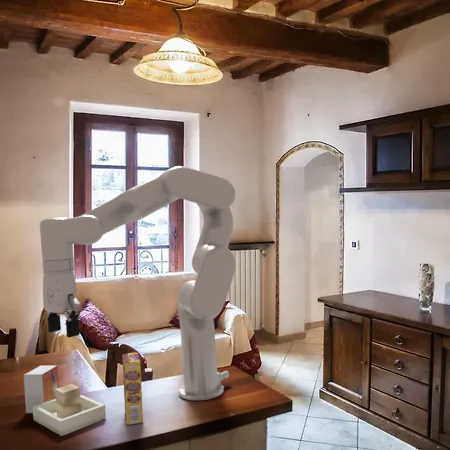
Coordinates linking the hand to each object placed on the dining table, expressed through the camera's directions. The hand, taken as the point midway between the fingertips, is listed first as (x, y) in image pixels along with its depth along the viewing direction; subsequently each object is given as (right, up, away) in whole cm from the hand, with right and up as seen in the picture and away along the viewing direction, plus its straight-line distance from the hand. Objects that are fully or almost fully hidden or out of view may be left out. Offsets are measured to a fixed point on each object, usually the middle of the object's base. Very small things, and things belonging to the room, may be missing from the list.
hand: (63, 333), depth 124 cm
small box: (-9, -23, +10) cm, 26 cm away
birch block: (+1, -21, 0) cm, 21 cm away
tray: (+1, -22, +1) cm, 22 cm away
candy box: (+18, -21, -1) cm, 28 cm away
